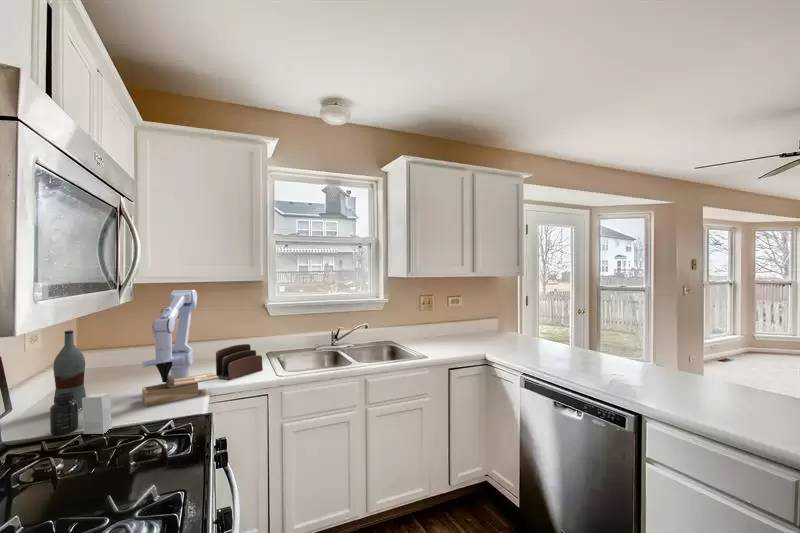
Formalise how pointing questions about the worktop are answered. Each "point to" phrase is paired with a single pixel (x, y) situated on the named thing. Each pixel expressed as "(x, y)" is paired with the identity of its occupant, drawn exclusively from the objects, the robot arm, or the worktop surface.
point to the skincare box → (96, 413)
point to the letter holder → (237, 361)
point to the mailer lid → (190, 379)
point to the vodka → (70, 370)
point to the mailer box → (167, 393)
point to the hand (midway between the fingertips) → (164, 381)
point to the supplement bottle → (64, 414)
